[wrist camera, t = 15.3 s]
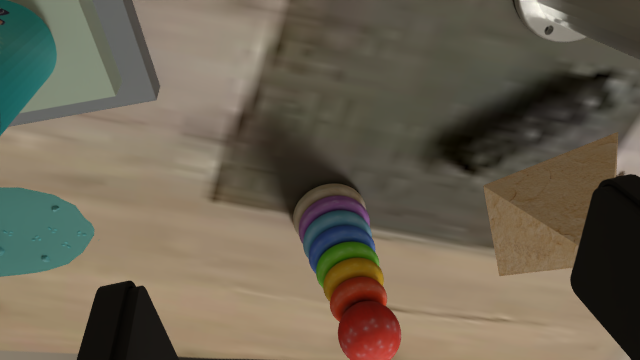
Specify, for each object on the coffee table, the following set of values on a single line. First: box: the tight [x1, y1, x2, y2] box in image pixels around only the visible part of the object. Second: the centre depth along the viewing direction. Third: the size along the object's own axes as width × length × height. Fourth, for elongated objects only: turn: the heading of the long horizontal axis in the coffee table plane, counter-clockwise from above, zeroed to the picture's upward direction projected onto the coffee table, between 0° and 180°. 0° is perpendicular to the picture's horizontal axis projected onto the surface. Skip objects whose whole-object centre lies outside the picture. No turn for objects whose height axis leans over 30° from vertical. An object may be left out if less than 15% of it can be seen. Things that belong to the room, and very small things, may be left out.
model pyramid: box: [483, 132, 618, 276], centre depth 54 cm, size 17×17×10 cm
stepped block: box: [8, 0, 160, 127], centre depth 33 cm, size 14×14×6 cm
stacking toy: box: [293, 183, 401, 360], centre depth 43 cm, size 8×8×19 cm
